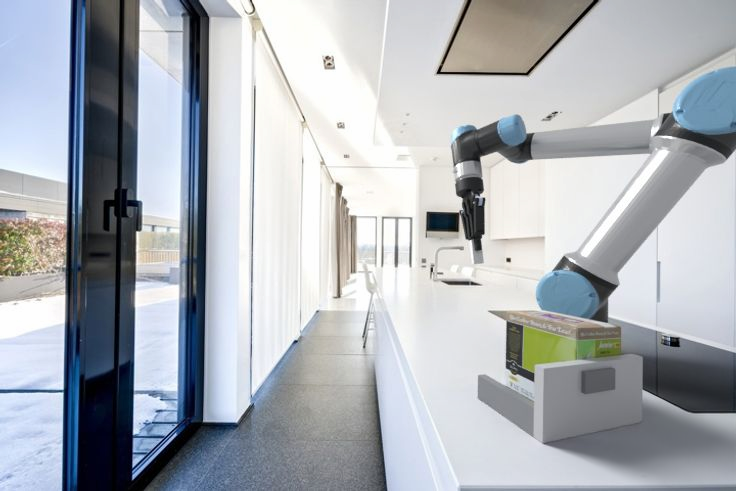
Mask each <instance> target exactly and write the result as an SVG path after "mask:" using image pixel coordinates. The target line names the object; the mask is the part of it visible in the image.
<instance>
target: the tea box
mask: <svg viewBox="0 0 736 491" xmlns="http://www.w3.org/2000/svg"><path fill="white" fill-rule="evenodd" d="M505 326H506V327H505V331H506V333H505V378H504V379H505V382H504V383H505V384H504V385H505V386H507V387H508V388H510V389H512V390H514V391H515V392H517V393H519V394H521V395H523V396H524V397H526V398H528V399H530V400H531V401H533V402H534V376H535V365H537V364H546V363H555V362H564V361H572V360H581V359H590V358H599V357H608V356H617V355H622V326H621V325H619V324H614V323H609V322H608V323H605V322H600V321H595V320H590V319H585V318H581V317H576V316H571V315H566V314H561V313H555V312H551V311H546V310H541V309H540V310H539V309H538V310H535V309H534V310H533V309H532V310H507V311H506V325H505Z"/></svg>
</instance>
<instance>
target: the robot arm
mask: <svg viewBox="0 0 736 491" xmlns="http://www.w3.org/2000/svg"><path fill="white" fill-rule="evenodd" d="M450 149H451V156H452V165H453V169H452V173H453V176H454V182H455V183H454V187H455V194H456V196H457V197H459V198H461V199H462V200H461V201H462V202H461V207H462V209H460V210H459V212H458V213H459V216H460V218H461V223H462V228H463V234H464V237H465V240H467V241H468V242H469V249H470V258H471V265H479V264H480V265H483V264H484V263H485V262H484V251H483V244H482V239H483V236H485V234H486V230H485V227H486V225H485V223H486V222H485V220H486V218H485V215H486V214H485V213H486V212H485V205H486V197H482V196H481V195H482V194H483V193H484V192H485V188H484V187H485V186H484V180H483V168H482V162H481V158H482V157H485V156H488V155H491V154H494V153H498V154H500V156H502V157H504V158H505V159H506V160H507V161H509V162H511V163H513V164H518V165H521V164H525V163H527V162H528V161H536V160H554V159H555V160H556V159H557V160H558V159H573V158H576V159H577V158H588V157H589V158H591V157H592V158H593V157H609V156H611V157H612V156H628V155H631V156H632V155H646V154H647V155H648V154H649V156H648V157H647V158H646V160H645V161H644V162H643V164H642V165H641V166H640V168H639V169H638V170H637V172H636V173H635V174H634V175H633V176H632V178H631V179H630V181H629V182H628V183H627V184H626V186H625V187H624V188H623V190H622V191H621V192H620V194H618V196H617V198H616V199H615V201H614V202H613V203H612V204H611V206H610V207H609V208H608V210H607V211H605V213H604V214H603V216H602V217H601V218H600V220H599V221H598V222H597V224H596V225H595V226H594V228H593V229H592V231H591V232H590V233H589V234H588V235H587V236H586V238H585V239H584V241H583V242H582V243H581V245H580V246H579V247H578V249H577V250H575V251H573V252H566V253H564V254H563V256H562V257H561V259H560V260H559V261H558V262H557V264H556V265H555V267H554V268H553V269H552V270H551V271H550V272H548V273H546V274H545V275H544V276H543V277H542V278H540V280H539V282H538V283H537V285H536V290H535V298H536V303H537V305H538V307H539V308H540V310H546V311H551V312H555V313H561V314H566V315H571V316H576V317H581V318H585V319H590V320H595V321H600V322H605V323H609V298H610V297H611V295H612V294H613V293H614V291H616V289H618V287H619V286H620V283H621V282H620V279H619V272H620V271H621V270H622V269H623V268H624V266H625V265H626V264H627V263H628V262H629V261H630V259H631V258H632V257H633V256H634V255H635V253H636V252H637V251H638V250H639V249H640V248H641V247H642V245H643V244H644V243H645V242H646V241H647V239H648V238H649V237H650V236H651V235H652V233H653V232H654V231H655V230H656V229H657V227H658V226H659V225H660V224H661V223H662V221H663V220H664V219H665V218H666V217H667V216H668V214H669V213H670V212H671V211H672V209H674V208H675V206H676V205H677V204H678V202H680V200H681V199H682V198H683V197H684V195H686V194H687V192H688V191H689V190H690V189H691V187H692V186H693V185H694V184H695V183H696V181H698V179H699V178H700V177H701V176H702V174H703V173H705V171H706V169H708V168H710V167H711V168H712V167H715V166H718V165H723V164H725V162H727V161H728V159H729V158H730V157H731V156H732V155H733V153H734V152H735V151H736V66H727V67H723V68H722V67H721V68H718V69H715V70H712V71H708V72H707V73H704V74H702V75H700V76H698V77H697V78H695V79H693V80H692V81H690V82H689V83H687V85H686V86H685V87H684V88H683V89H681V91H680V93H679V94H678V95H677V96H676V99H675V100H674V103H673V105H672V111H671V112H666V113H661V114H660V115H659V116H657V117H656V118H654V119H647V120H645V119H644V120H638V121H637V120H636V121H635V120H634V121H628V122H627V121H626V122H618V123H610V124H601V125H600V124H599V125H591V126H581V127H580V126H579V127H573V128H572V127H571V128H565V129H555V130H547V131H546V130H545V131H536V132H527V129H526V125H525V121H524V120H523V118H522V116H521V115H519V114H512V115H510V116H507V117H506V116H505V117H502V118H500V119H499V120H496V121H494V122H492V123H490V124H488V125H485V126H482V127H480V128H477V127H476V126H475V125H471V124H465V125H460V126H458V127H456V128H455V129H453V130H452V132H451V134H450Z"/></svg>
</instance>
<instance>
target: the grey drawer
mask: <svg viewBox="0 0 736 491" xmlns="http://www.w3.org/2000/svg"><path fill="white" fill-rule="evenodd" d="M643 362H644V357H643V356H641V355H638V354H635V353H627V354H621V355H617V356H608V357H599V358H590V359H581V360H572V361H564V362H555V363H546V364H537V365H535V376H534V401H532V400H530V399H529V398H527V397H525V396H523V395H522V394H520V393H518V392H516V391H514V390H513V389H511V388H509V387H507V386H506V385H505V384H504V383H501V382H499V381H497V380H496V379H494V378H492V377H491V376H489V375H488V374H478V375H477V400H480V401H481V402H483V404H485V405H487V406H488V407H490V408H491V409H492V410H494V411H495V412H497V413H499V415H501V416H503V417H504V418H506V419H507V420H508V421H510V422H512V423H513V424H514V426H515V425H516V426H517V427H518V428H520V429H521V430H523V431H524V432H525V433H527V434H528V435H530V436H531V437H532V438H534V439H535V440H537V441H538V442H539V443H541V444H546V443H551V442H556V441H561V440H563V439H565V440H566V439H569V438H573V437H574V438H575V437H579V436H583V435H589V434H593V433H598V432H602V431H606V430H611V429H616V428H620V427H624V426H630V425H634V424H637V423H642V422H643V391H644V390H643V388H644V386H643V378H644V377H643V374H644V373H643V372H644V371H643V370H644V369H643V368H644V367H643V366H644V363H643Z"/></svg>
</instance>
